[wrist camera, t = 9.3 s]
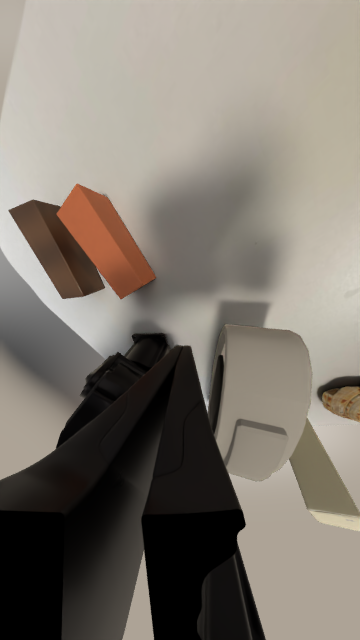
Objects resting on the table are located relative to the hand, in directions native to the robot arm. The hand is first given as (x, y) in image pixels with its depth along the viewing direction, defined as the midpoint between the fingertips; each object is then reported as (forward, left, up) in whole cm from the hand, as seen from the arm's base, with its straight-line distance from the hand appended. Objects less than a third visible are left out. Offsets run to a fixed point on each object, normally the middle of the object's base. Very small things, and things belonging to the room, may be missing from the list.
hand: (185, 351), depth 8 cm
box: (+13, -22, -12) cm, 28 cm away
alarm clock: (+4, -14, -12) cm, 19 cm away
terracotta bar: (-10, +6, -12) cm, 17 cm away
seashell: (+22, -19, -12) cm, 32 cm away
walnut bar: (-17, +7, -12) cm, 22 cm away
